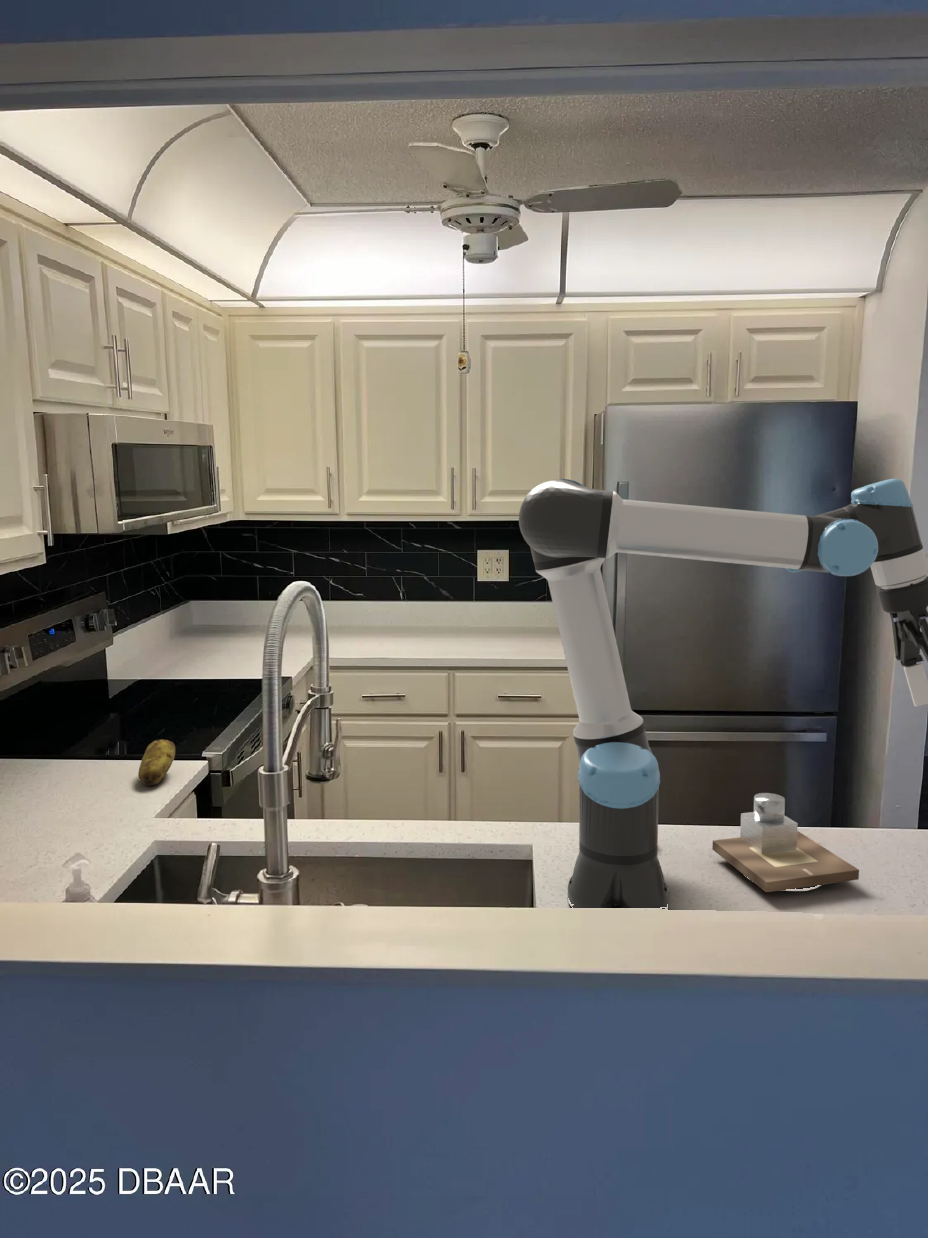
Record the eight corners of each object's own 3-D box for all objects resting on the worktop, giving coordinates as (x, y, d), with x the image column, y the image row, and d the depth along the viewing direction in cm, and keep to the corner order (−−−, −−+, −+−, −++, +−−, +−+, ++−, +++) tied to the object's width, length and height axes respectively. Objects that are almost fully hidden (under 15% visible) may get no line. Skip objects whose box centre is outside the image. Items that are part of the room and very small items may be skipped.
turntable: (712, 849, 145) (712, 840, 145) (796, 839, 149) (796, 830, 148) (766, 892, 130) (766, 882, 129) (858, 879, 133) (859, 869, 133)
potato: (122, 787, 186) (119, 752, 185) (157, 768, 198) (154, 735, 197) (156, 790, 184) (153, 754, 183) (189, 771, 196) (187, 737, 195)
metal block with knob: (740, 839, 145) (741, 793, 144) (774, 834, 147) (775, 789, 146) (761, 854, 139) (762, 806, 138) (796, 849, 140) (798, 802, 139)
